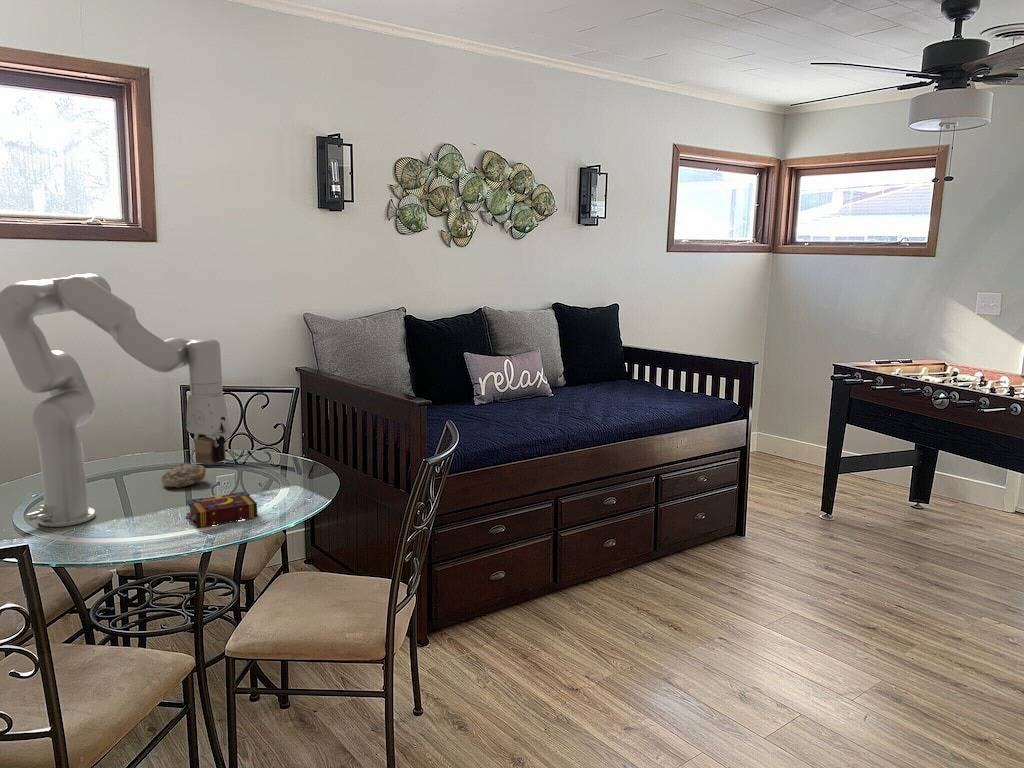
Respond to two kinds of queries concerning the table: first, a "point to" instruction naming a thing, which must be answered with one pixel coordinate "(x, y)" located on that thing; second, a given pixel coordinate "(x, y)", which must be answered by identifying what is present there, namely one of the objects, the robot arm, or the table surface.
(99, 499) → the table surface
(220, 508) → the decorative book
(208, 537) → the table surface
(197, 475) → the fossil
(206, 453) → the walnut block
